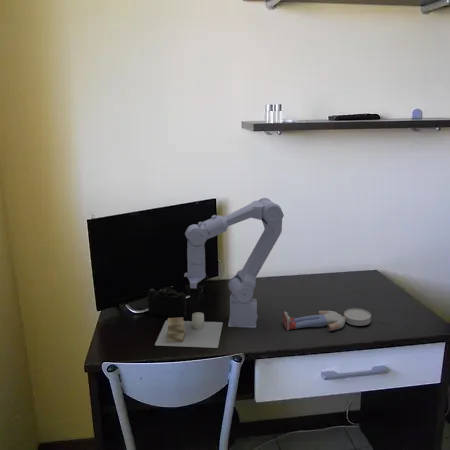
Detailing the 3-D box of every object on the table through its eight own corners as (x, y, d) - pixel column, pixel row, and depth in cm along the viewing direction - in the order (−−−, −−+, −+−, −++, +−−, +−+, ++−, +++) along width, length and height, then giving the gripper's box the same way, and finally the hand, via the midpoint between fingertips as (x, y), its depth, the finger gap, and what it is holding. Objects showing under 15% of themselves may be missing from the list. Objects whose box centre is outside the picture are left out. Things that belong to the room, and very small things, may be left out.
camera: (193, 307, 180) (192, 282, 177) (183, 320, 170) (182, 294, 168) (158, 303, 184) (157, 278, 181) (146, 316, 174) (145, 290, 171)
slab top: (183, 325, 159) (183, 317, 158) (184, 332, 154) (183, 324, 154) (168, 326, 159) (167, 318, 158) (168, 334, 154) (167, 325, 153)
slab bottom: (185, 334, 160) (184, 326, 159) (182, 342, 155) (182, 333, 154) (170, 334, 160) (169, 325, 159) (167, 341, 155) (166, 333, 154)
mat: (222, 323, 168) (222, 322, 168) (217, 348, 151) (217, 347, 151) (165, 321, 170) (165, 320, 169) (154, 346, 153) (154, 345, 153)
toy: (290, 322, 157) (378, 313, 161) (280, 306, 169) (362, 298, 173) (290, 338, 159) (377, 329, 163) (280, 320, 171) (362, 312, 175)
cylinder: (204, 324, 166) (204, 312, 165) (203, 330, 162) (203, 317, 161) (193, 324, 167) (192, 312, 165) (191, 329, 163) (191, 317, 162)
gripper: (187, 253, 165) (188, 290, 169) (180, 269, 151) (181, 309, 155) (208, 254, 165) (208, 291, 168) (202, 269, 151) (203, 309, 155)
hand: (197, 300), depth 162 cm, fingers open, 7 cm apart
